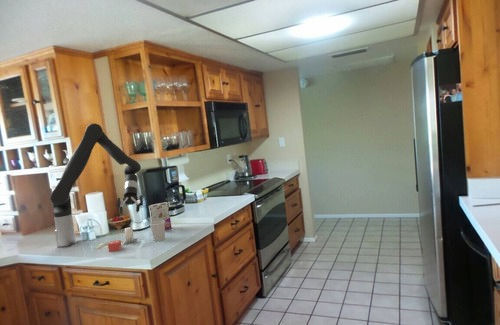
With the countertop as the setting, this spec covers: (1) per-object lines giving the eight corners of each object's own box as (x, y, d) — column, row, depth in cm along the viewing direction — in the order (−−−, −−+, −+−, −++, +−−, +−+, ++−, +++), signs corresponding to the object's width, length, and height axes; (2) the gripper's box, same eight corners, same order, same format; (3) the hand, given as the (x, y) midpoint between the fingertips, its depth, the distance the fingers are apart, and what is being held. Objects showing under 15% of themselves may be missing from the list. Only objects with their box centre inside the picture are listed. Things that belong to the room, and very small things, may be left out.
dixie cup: (148, 242, 185) (146, 224, 184) (157, 237, 192) (155, 220, 192) (161, 242, 182) (159, 224, 181) (170, 237, 190) (168, 219, 189)
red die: (109, 254, 171) (107, 244, 171) (111, 250, 176) (110, 241, 175) (119, 252, 172) (118, 242, 171) (121, 249, 177) (120, 239, 176)
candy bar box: (169, 227, 212) (166, 201, 211) (171, 228, 208) (168, 202, 207) (151, 231, 207) (148, 205, 206) (153, 233, 203) (149, 206, 202)
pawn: (125, 243, 183) (123, 229, 182) (127, 241, 186) (125, 227, 186) (133, 242, 183) (131, 228, 182) (134, 240, 187) (132, 226, 186)
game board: (93, 252, 176) (93, 250, 176) (100, 245, 188) (100, 243, 188) (135, 246, 179) (135, 244, 179) (139, 239, 191) (138, 237, 191)
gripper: (116, 187, 198) (114, 210, 187) (142, 184, 200) (141, 207, 189) (120, 194, 203) (118, 217, 193) (144, 192, 205) (143, 214, 195)
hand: (129, 212), depth 191 cm, fingers open, 8 cm apart
